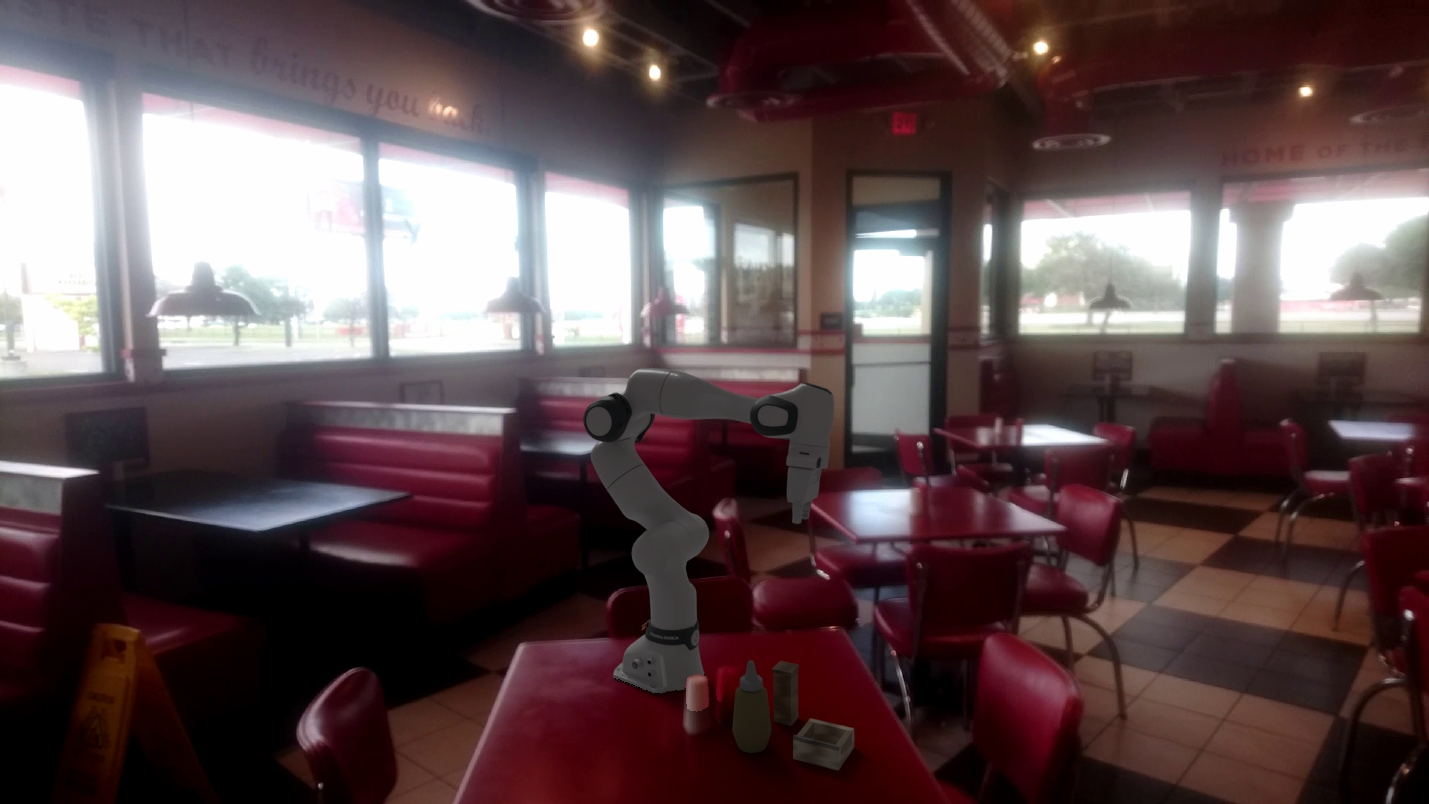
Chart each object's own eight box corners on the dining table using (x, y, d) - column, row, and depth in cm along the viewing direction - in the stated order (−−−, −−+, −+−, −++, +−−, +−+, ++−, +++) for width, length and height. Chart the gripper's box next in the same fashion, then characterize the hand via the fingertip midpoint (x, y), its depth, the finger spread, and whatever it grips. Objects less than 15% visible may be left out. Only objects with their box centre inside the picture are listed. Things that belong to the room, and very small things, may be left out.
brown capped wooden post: (772, 722, 176) (772, 668, 174) (780, 713, 179) (780, 660, 178) (791, 726, 174) (791, 672, 172) (799, 717, 177) (799, 664, 176)
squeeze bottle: (769, 758, 161) (768, 672, 159) (729, 755, 163) (727, 669, 161) (774, 737, 169) (773, 654, 167) (736, 734, 171) (734, 652, 169)
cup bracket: (793, 758, 161) (793, 735, 161) (810, 736, 169) (810, 714, 169) (838, 770, 157) (838, 747, 156) (854, 747, 165) (854, 724, 164)
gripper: (802, 455, 188) (794, 514, 188) (785, 457, 169) (776, 523, 169) (829, 458, 187) (821, 518, 187) (815, 461, 167) (806, 528, 167)
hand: (800, 521), depth 177 cm, fingers open, 8 cm apart
